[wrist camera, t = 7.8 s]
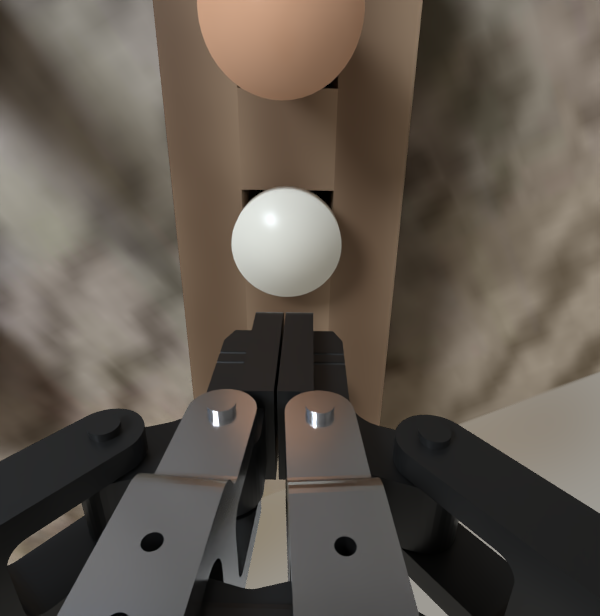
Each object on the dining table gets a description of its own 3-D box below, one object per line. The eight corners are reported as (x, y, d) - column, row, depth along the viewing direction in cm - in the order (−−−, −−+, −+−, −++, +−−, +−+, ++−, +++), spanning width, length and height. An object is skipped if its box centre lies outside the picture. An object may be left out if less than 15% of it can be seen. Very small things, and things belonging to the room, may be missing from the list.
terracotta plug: (348, -34, 18) (371, -97, 12) (342, 96, 20) (359, 101, 14) (229, -36, 18) (189, -99, 12) (234, 95, 20) (203, 99, 14)
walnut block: (402, -70, 22) (435, -122, 16) (364, 389, 32) (377, 452, 27) (181, -72, 22) (139, -125, 16) (217, 388, 32) (199, 449, 27)
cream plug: (334, 164, 25) (344, 191, 19) (330, 248, 27) (339, 297, 21) (247, 163, 25) (228, 190, 19) (250, 247, 27) (234, 296, 21)
